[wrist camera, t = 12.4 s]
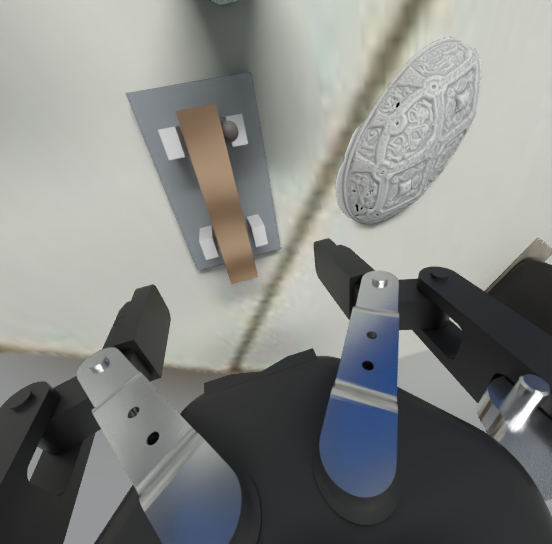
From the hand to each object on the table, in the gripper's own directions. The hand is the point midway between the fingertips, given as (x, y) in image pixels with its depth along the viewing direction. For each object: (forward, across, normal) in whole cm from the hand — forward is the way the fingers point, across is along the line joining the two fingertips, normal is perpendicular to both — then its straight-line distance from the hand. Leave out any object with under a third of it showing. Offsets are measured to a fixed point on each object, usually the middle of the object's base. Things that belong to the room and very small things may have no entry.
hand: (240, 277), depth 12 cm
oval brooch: (+22, -26, 0) cm, 34 cm away
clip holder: (+22, 0, 0) cm, 22 cm away
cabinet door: (+20, 0, 0) cm, 20 cm away
